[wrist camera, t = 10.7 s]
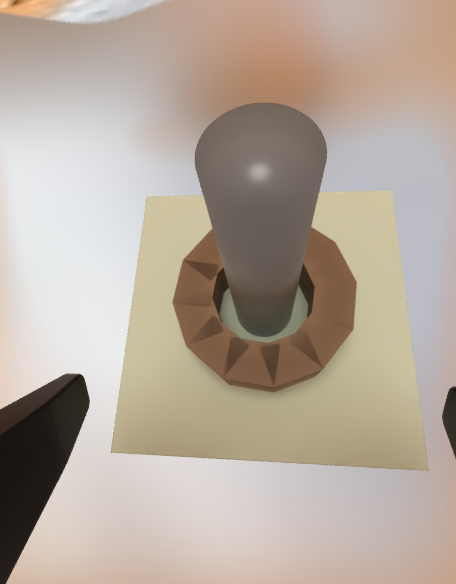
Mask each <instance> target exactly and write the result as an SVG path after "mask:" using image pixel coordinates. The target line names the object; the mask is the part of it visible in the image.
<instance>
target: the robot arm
mask: <svg viewBox="0 0 456 584" xmlns="http://www.w3.org/2000/svg"><path fill="white" fill-rule="evenodd" d="M89 403H90V400H89V395H88V391H87V387H86V383H85V379H84V377H83V376H82V375H81V374H65V375H63V376H61V377H59V378H57V379H55V380H54V381H52V382H50V383H48V384H46V385H45V386H42V387H41V388H39V389H37V390H35V391H33V392H32V393H30V394H28V395H26V396H24V397H22V398H20V399H19V400H17V401H15V402H13V403H11V404H9V405H8V406H6V407H4V408H2V409H0V584H6V582H7V580H8V578H9V576H10V574H11V572H12V570H13V568H14V566H15V564H16V563H17V561H18V559H19V557H20V555H21V552H22V551H23V549H24V547H25V545H26V543H27V541H28V539H29V537H30V535H31V533H32V531H33V529H34V527H35V525H36V523H37V521H38V519H39V517H40V515H41V513H42V511H43V509H44V507H45V505H46V504H47V502H48V500H49V498H50V496H51V494H52V492H53V490H54V488H55V486H56V484H57V482H58V480H59V478H60V476H61V474H62V472H63V470H64V468H65V466H66V464H67V462H68V459H69V457H70V455H71V452H72V450H73V447H74V444H75V442H76V439H77V437H78V434H79V432H80V429H81V427H82V424H83V421H84V419H85V416H86V413H87V411H88V408H89ZM442 419H443V424H444V427H445V430H446V432H447V435H448V438H449V441H450V444H451V447H452V449H453V452H454V455H455V457H456V387H455V386H454V387H452V388H450V389H449V392H448V395H447V399H446V402H445V406H444V410H443V415H442Z"/></svg>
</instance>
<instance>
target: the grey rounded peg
mask: <svg viewBox="0 0 456 584" xmlns="http://www.w3.org/2000/svg"><path fill="white" fill-rule="evenodd" d="M326 159H327V148H326V142H325V139H324V136H323V135H322V132H321V130H320V129H319V128H318V126H317V125H316V124H315V123H314V122H313V120H311V119H310V118H309V117H308V116H306V115H305V114H303V113H302V112H300V111H298V110H296V109H294V108H291V107H288V106H286V105H281V104H275V103H253V104H249V105H244V106H240V107H237V108H235V109H232V110H230V111H228V112H226V113H224V114H222V115H221V116H220V117H218V118H217V119H216V120H214V121H213V122H212V123H211V124H210V125H209V126H208V127H207V128H206V130H205V131H204V132H203V134H202V135H201V138H200V139H199V141H198V144H197V147H196V152H195V166H196V171H197V175H198V178H199V182H200V185H201V189H202V192H203V196H204V200H205V203H206V207H207V210H208V214H209V218H210V221H211V225H212V228H213V232H214V235H215V239H216V243H217V246H218V250H219V253H220V257H221V261H222V264H223V268H224V271H225V275H226V278H227V282H228V286H229V289H230V293H231V296H232V300H233V303H234V307H235V311H236V314H237V318H238V321H239V323H240V324H241V326H242V327H243V328H244V329H245V330H246V331H247V332H249V333H250V334H252V335H255V336H258V337H270V336H274V335H276V334H278V333H280V332H281V331H282V330H284V329H285V328H286V326H287V325H288V323H289V321H290V319H291V315H292V310H293V306H294V301H295V297H296V292H297V288H298V284H299V279H300V275H301V270H302V266H303V261H304V257H305V253H306V248H307V244H308V239H309V235H310V230H311V226H312V222H313V217H314V213H315V208H316V204H317V199H318V195H319V190H320V185H321V182H322V177H323V173H324V168H325V164H326Z"/></svg>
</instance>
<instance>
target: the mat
mask: <svg viewBox="0 0 456 584" xmlns="http://www.w3.org/2000/svg"><path fill="white" fill-rule="evenodd" d="M311 227H313V228H314V229H316V230H317V231H319V232H321V233H322V234H324V235H325V236H327V237H328V238H330V239H331V240H333V241H335V242H336V244H337V246H338V248H339V250H340V251H341V253H342V255H343V257H344V259H345V261H346V263H347V265H348V266H349V268H350V270H351V272H352V274H353V276H354V278H355V280H356V281H357V288H356V302H355V316H354V329H353V331H352V332H351V333H350V334H349V336H348V337H347V338H346V340H345V341H344V342H343V344H342V345H341V346H340V348H339V349H338V350H337V352H336V353H335V354H334V356H333V357H332V358H331V359H330V361H329V362H328V363H327V365H326V366H325V367H324V369H323V370H322V371H321V372H320V373H319V374H318V375H317V376H315V377H313V378H311V379H308V380H305V381H303V382H300V383H297V384H295V385H292V386H289V387H287V388H284V389H282V390H279V391H276V392H274V393H273V392H267V391H262V390H256V389H251V388H245V387H240V386H234V385H229V384H228V383H227V382H226V381H225V380H223V379H222V378H221V377H220V376H219V375H218V374H217V373H215V372H214V371H213V370H212V369H211V368H210V367H209V366H207V365H206V364H205V363H204V362H203V361H202V360H200V359H199V358H198V357H197V356H196V355H195V354H194V353H193V352H192V351H191V350H190V349H189V348H188V347H187V346H186V344H185V341H184V338H183V335H182V332H181V328H180V325H179V322H178V319H177V316H176V313H175V309H174V306H173V303H172V302H173V298H174V293H175V289H176V285H177V281H178V277H179V273H180V269H181V265H182V261H183V259H184V258H185V257H186V256H187V255H188V254H189V253H190V252H191V251H192V250H193V248H194V247H195V246H196V245H197V244H198V243H199V242H200V241H201V240H202V239H203V238H204V237H205V236H206V235H207V233H208V232H209V231H210V230H211V229H212V225H211V221H210V218H209V214H208V210H207V207H206V203H205V200H204V196H203V195H193V196H155V197H154V196H152V197H147V199H146V206H145V214H144V221H143V228H142V235H141V242H140V249H139V257H138V264H137V270H136V277H135V284H134V292H133V299H132V306H131V313H130V320H129V327H128V334H127V341H126V348H125V355H124V362H123V370H122V377H121V384H120V391H119V398H118V405H117V412H116V420H115V427H114V434H113V441H112V448H111V453H129V454H146V455H163V456H181V457H199V458H216V459H235V460H251V461H252V460H253V461H268V462H269V461H270V462H285V463H303V464H320V465H337V466H355V467H356V466H357V467H372V468H390V469H407V470H426V471H429V468H428V461H427V454H426V446H425V438H424V430H423V423H422V415H421V408H420V400H419V393H418V386H417V378H416V370H415V363H414V355H413V348H412V340H411V333H410V325H409V318H408V310H407V302H406V295H405V288H404V280H403V273H402V265H401V257H400V250H399V242H398V235H397V227H396V219H395V212H394V205H393V197H392V191H354V192H319V195H318V199H317V204H316V208H315V213H314V217H313V222H312V226H311ZM307 312H308V304H307V301H306V299H305V297H304V295H303V293H302V291H301V289H300V286H299V285H298V288H297V292H296V297H295V301H294V306H293V310H292V315H291V319H290V321H289V323H288V325H287V326H286V328H285V329H284V330H282V331H281V332H280V333H278V334H276V335H274V336H270V337H258V336H255V335H252V334H250V333H249V332H247V331H246V330H245V329H244V328H243V327H242V326H241V324H240V323H239V321H238V318H237V314H236V311H235V307H234V303H233V300H232V296H231V293H230V289H229V288H228V289H227V290H226V291H225V293H224V295H223V300H222V305H221V310H220V317H221V320H222V323H223V324H224V325H225V326H227V327H228V328H229V329H230V330H232V331H233V332H234V333H235V334H236V335H238V336H239V337H240V338H241V339H247V340H254V341H260V342H266V343H270V342H273V341H276V340H278V339H281V338H284V337H286V336H289V335H292V334H294V333H296V332H297V330H298V329H299V328H300V327H301V325H302V324H303V323H304V322H305V320H306V319H307Z"/></svg>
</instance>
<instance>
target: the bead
mask: <svg viewBox="0 0 456 584" xmlns="http://www.w3.org/2000/svg"><path fill="white" fill-rule="evenodd" d="M298 285H299V286H300V289H301V291H302V293H303V295H304V297H305V299H306V301H307V304H308V312H307V319H306V320H305V322H304V323H303V324H302V325H301V327H300V328H299V329H298V330H297V332H296V333H294V334H292V335H289V336H286V337H284V338H281V339H278V340H276V341H273V342H270V343H266V342H260V341H254V340H247V339H241V338H240V337H239V336H238V335H236V334H235V333H234V332H233V331H232V330H230V329H229V328H228V327H227V326H225V325H224V324H223V323H222V320H221V317H220V310H221V305H222V300H223V295H224V293H225V291H226V290H227V289H228V288H229V286H228V282H227V278H226V275H225V271H224V268H223V264H222V261H221V257H220V253H219V250H218V246H217V243H216V239H215V235H214V232H213V228H212V229H211V230H210V231H209V232H208V233H207V235H206V236H205V237H204V238H203V239H202V240H201V241H200V242H199V243H198V244H197V245H196V246H195V247H194V248H193V250H192V251H191V252H190V253H189V254H188V255H187V256H186V257H185V258H184V259H183V261H182V265H181V269H180V273H179V277H178V281H177V285H176V289H175V293H174V298H173V302H172V303H173V306H174V309H175V313H176V316H177V319H178V322H179V325H180V328H181V332H182V335H183V338H184V341H185V344H186V346H187V347H188V348H189V349H190V350H191V351H192V352H193V353H194V354H195V355H196V356H197V357H198V358H199V359H200V360H202V361H203V362H204V363H205V364H206V365H207V366H209V367H210V368H211V369H212V370H213V371H214V372H215V373H217V374H218V375H219V376H220V377H221V378H222V379H223V380H225V381H226V382H227V383H228V384H229V385H234V386H240V387H245V388H251V389H256V390H262V391H267V392H273V393H274V392H276V391H279V390H282V389H284V388H287V387H289V386H292V385H295V384H297V383H300V382H303V381H305V380H308V379H311V378H313V377H315V376H317V375H318V374H319V373H320V372H321V371H322V370H323V369H324V367H325V366H326V365H327V363H328V362H329V361H330V359H331V358H332V357H333V356H334V354H335V353H336V352H337V350H338V349H339V348H340V346H341V345H342V344H343V342H344V341H345V340H346V338H347V337H348V336H349V334H350V333H351V332H352V331H353V329H354V316H355V302H356V288H357V281H356V280H355V278H354V276H353V274H352V272H351V270H350V268H349V266H348V265H347V263H346V261H345V259H344V257H343V255H342V253H341V251H340V250H339V248H338V246H337V244H336V242H335V241H333V240H331V239H330V238H328V237H327V236H325V235H324V234H322V233H321V232H319V231H317V230H316V229H314V228H313V227H311V230H310V235H309V239H308V244H307V248H306V253H305V257H304V261H303V266H302V270H301V275H300V279H299V284H298Z"/></svg>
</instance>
